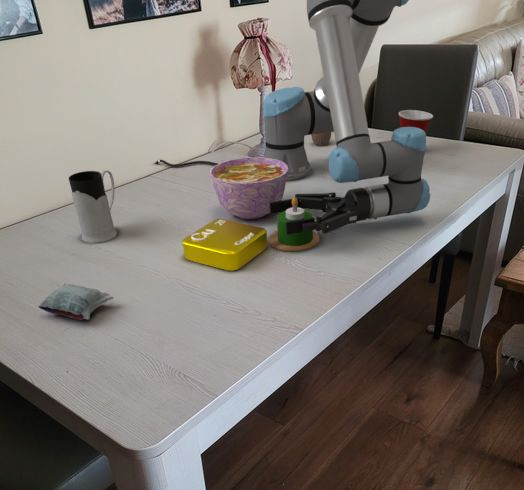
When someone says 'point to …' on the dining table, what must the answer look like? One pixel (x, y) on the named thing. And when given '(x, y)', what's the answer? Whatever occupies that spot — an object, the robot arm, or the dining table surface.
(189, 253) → the element tile
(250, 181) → the bowl of food
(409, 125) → the plastic cup
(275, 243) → the cork trivet
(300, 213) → the candle
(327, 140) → the vase
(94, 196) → the glass holder
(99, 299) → the packaged food
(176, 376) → the dining table surface
